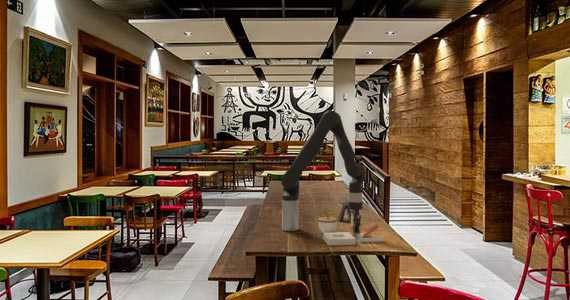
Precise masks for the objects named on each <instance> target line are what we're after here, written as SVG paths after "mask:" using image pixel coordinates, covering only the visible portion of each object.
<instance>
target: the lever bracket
mask: <svg viewBox="0 0 570 300" xmlns="http://www.w3.org/2000/svg"><path fill="white" fill-rule="evenodd" d="M360 234H361V232H360V233H356V236H355V237H354V238H355V239H356V243H358V244H362V243H385V239H384V238H382V237H363V236H359V238H358V235H360Z"/></svg>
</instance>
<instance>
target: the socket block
mask: <svg viewBox="0 0 570 300" xmlns="http://www.w3.org/2000/svg"><path fill="white" fill-rule="evenodd" d="M355 238H356V237H355V236H352V235H351V232H349V231H343V232H342V231H341V232H338V231H337V232H335V231H334V232H333V233H322V239H323V241H324V242H325V243H326V245H327V246H348V245H349V246H350V245H352V246H353V245H354V246H355V245H357V241H356V239H355Z"/></svg>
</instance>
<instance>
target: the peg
mask: <svg viewBox="0 0 570 300" xmlns="http://www.w3.org/2000/svg"><path fill="white" fill-rule="evenodd" d="M355 220H356V219H355ZM357 223H358V222H357ZM359 233H360V234H361V224H360V225H359ZM350 234H352V235H353V237H356V233H355V225H354V221H353V216H351V222H350Z"/></svg>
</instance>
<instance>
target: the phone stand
mask: <svg viewBox="0 0 570 300" xmlns="http://www.w3.org/2000/svg"><path fill="white" fill-rule="evenodd" d="M341 203H342V205H341V208H340V212H339V214H338V217H337V221H338V222H340V223H349V221H351V213H350V211H351V210H350V209H349V202H347V200H346V201H342V202H341ZM345 213H346V214H347V218H344V217H345Z"/></svg>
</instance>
